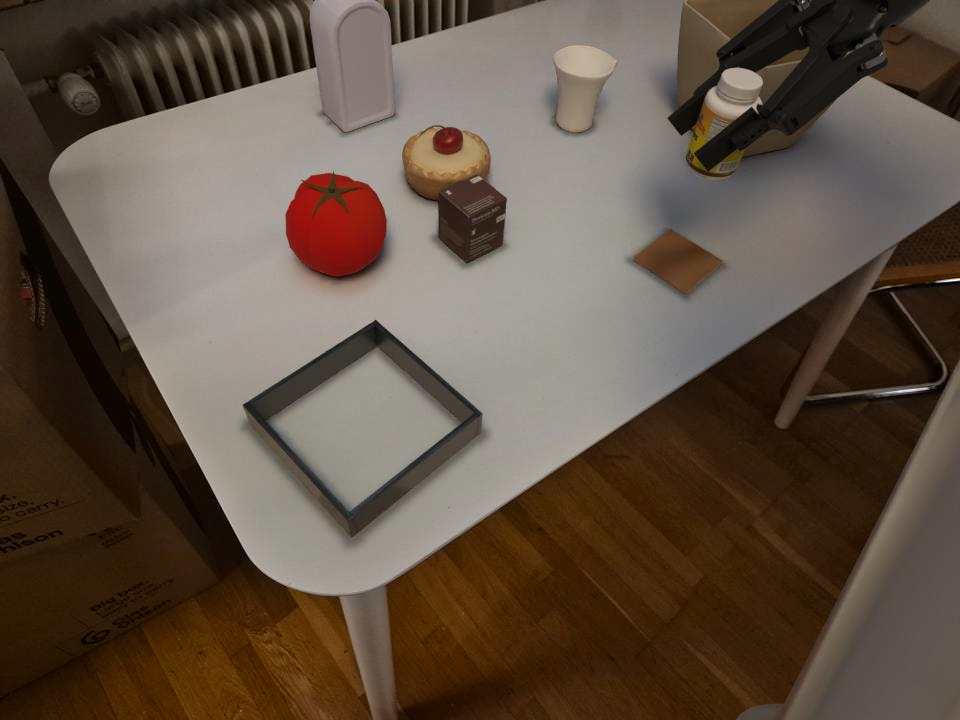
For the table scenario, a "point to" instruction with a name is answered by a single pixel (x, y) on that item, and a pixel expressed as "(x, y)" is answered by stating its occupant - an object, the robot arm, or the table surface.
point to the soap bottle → (353, 61)
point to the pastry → (443, 159)
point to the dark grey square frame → (329, 366)
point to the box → (471, 217)
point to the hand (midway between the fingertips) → (687, 144)
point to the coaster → (678, 261)
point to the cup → (580, 84)
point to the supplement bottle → (723, 118)
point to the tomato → (335, 224)
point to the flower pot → (710, 25)
